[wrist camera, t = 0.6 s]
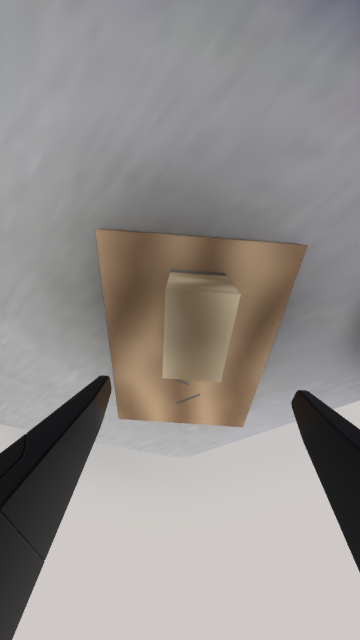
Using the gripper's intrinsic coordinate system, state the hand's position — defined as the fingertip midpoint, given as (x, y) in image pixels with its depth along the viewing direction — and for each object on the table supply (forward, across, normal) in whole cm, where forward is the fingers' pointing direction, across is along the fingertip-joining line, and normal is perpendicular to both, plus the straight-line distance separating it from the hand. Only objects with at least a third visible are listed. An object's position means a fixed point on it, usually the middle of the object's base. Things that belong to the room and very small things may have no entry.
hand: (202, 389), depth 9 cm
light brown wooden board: (+10, 0, +5) cm, 11 cm away
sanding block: (+9, 0, 0) cm, 9 cm away
